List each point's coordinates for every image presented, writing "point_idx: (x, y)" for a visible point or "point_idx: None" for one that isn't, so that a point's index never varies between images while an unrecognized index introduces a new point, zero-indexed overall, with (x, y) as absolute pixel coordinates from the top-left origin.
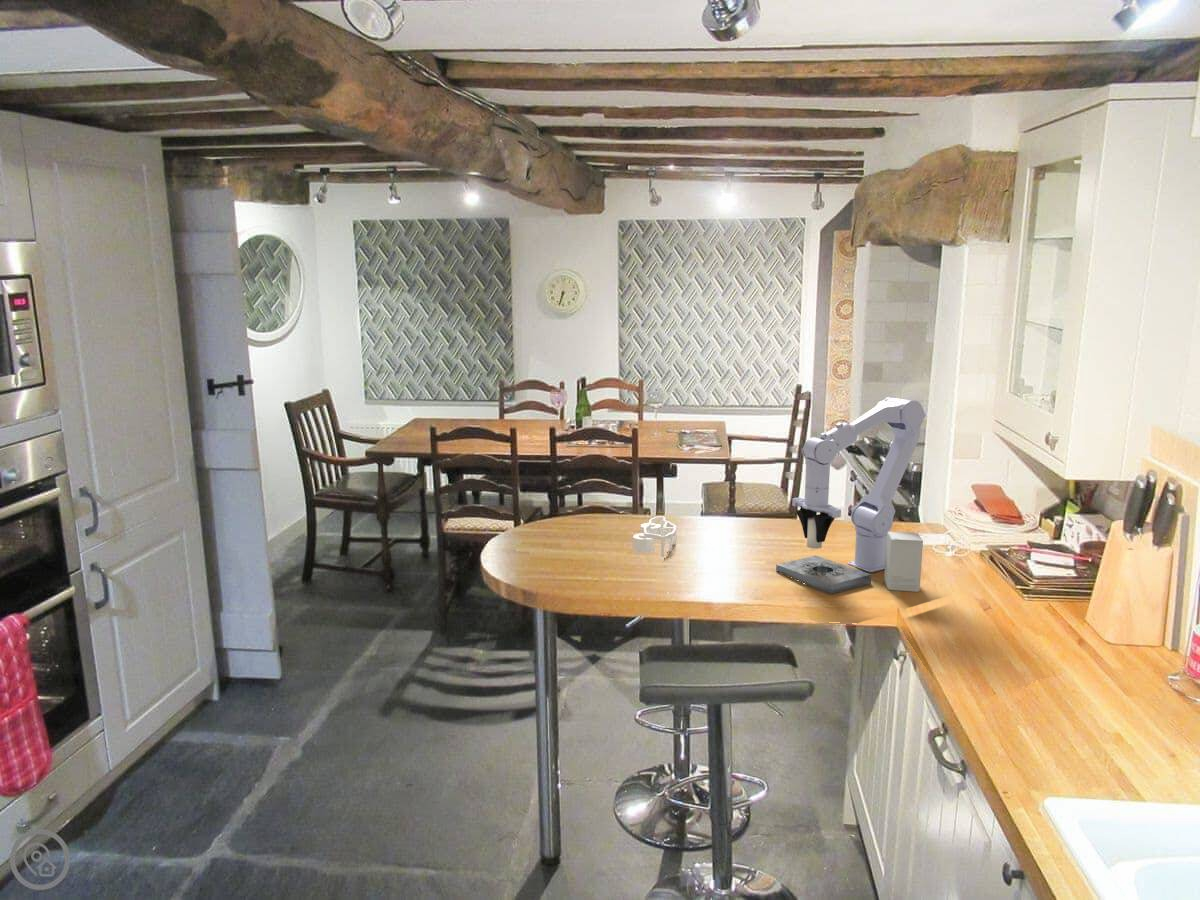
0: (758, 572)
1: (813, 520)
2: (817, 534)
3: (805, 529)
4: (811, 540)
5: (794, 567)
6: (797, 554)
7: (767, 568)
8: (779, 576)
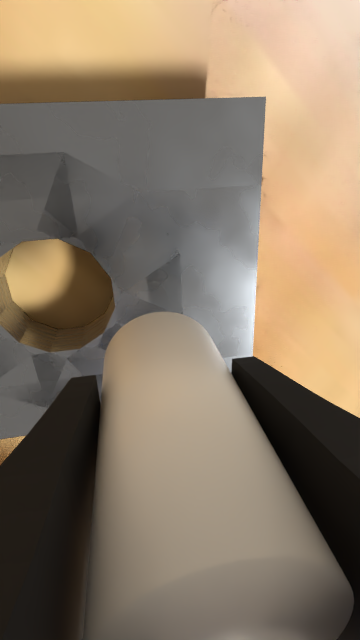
0: (318, 20)
1: (186, 605)
2: (56, 419)
3: (274, 402)
4: (141, 349)
5: (157, 165)
6: (357, 387)
7: (329, 135)
8: (198, 90)
